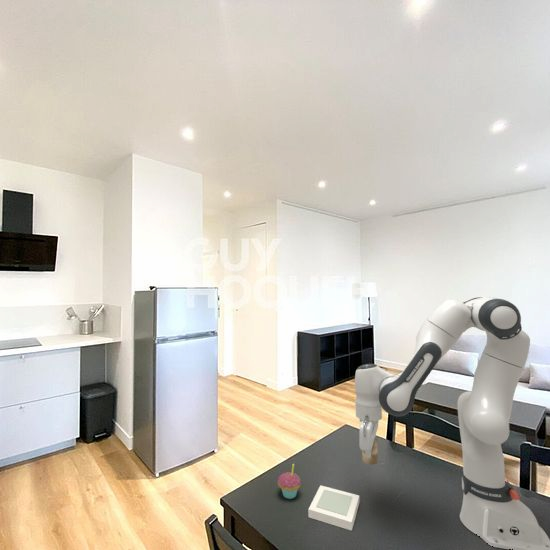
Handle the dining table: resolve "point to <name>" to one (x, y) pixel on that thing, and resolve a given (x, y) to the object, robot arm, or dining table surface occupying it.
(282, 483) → the cupcake
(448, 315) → the robot arm
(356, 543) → the dining table surface
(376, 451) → the bread loaf
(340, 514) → the base slab
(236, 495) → the dining table surface
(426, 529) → the dining table surface
